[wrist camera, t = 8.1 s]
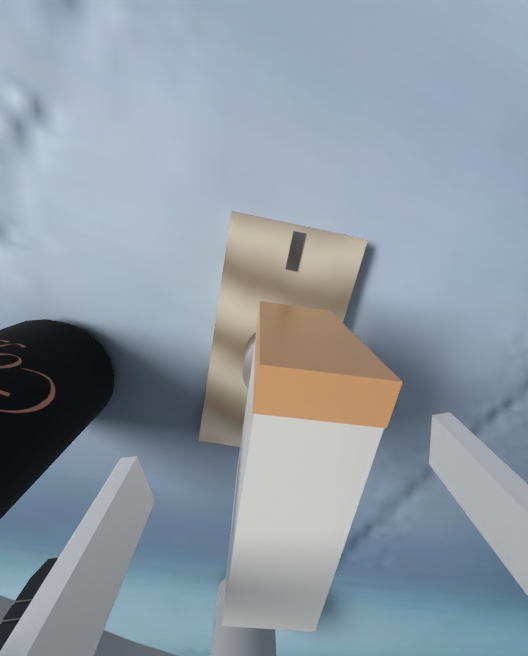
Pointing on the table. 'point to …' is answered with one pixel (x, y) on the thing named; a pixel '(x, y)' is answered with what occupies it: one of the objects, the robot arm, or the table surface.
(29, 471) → the coffee jar
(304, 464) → the orange-capped white bar
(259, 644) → the can
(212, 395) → the lock board
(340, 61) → the table surface
